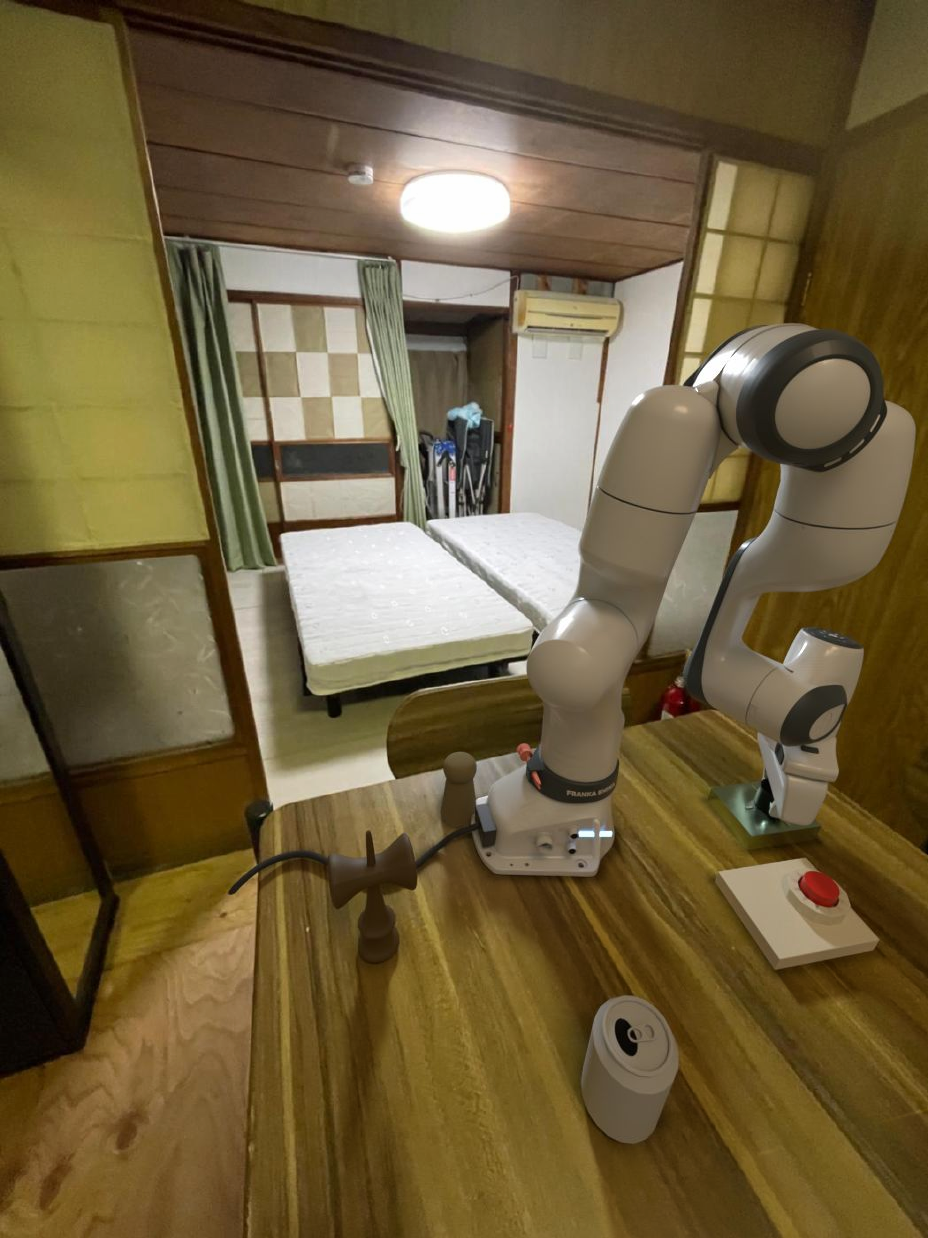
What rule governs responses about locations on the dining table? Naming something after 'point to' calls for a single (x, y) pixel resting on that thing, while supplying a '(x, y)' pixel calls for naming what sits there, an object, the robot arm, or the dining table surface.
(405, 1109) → the dining table surface
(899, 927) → the dining table surface
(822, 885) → the power button
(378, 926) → the kendama
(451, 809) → the brown wooden peg doll
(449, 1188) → the dining table surface
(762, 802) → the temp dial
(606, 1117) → the can
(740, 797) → the dial plate
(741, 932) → the dining table surface
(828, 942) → the white button base
